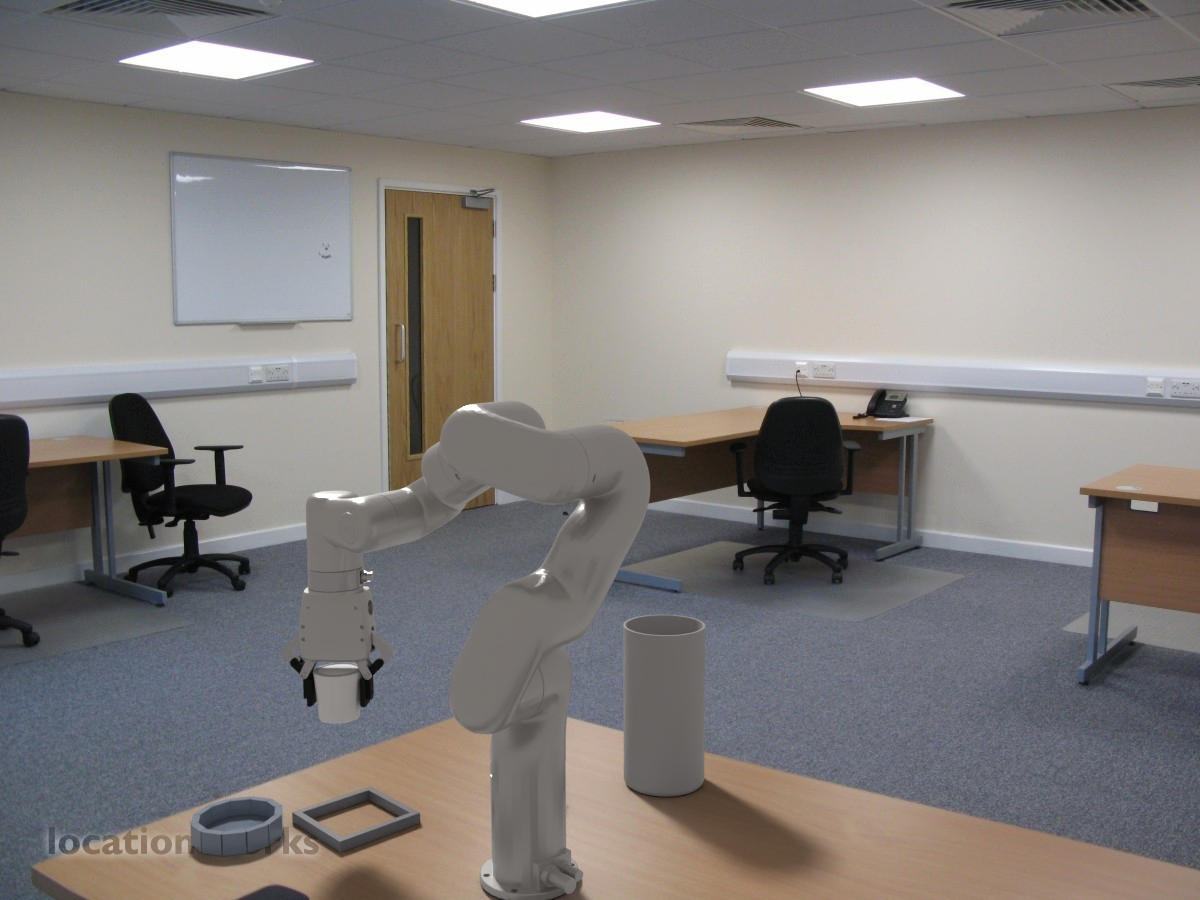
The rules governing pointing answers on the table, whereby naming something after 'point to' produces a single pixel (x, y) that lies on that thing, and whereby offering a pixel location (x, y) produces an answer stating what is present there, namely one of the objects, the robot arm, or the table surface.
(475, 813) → the table surface
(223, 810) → the bowl
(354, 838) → the grey square frame
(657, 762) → the cylinder vase
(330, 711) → the white cup
